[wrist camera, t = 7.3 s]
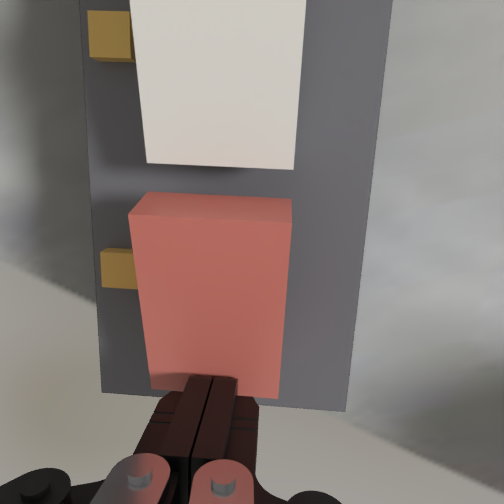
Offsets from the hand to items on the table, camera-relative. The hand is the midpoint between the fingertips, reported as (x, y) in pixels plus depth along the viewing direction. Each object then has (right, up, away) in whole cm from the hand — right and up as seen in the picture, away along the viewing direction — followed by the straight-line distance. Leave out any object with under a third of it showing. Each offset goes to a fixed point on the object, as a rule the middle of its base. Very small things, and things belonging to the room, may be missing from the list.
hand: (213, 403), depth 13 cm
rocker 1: (+1, +11, -1) cm, 11 cm away
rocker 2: (0, +4, 0) cm, 4 cm away
